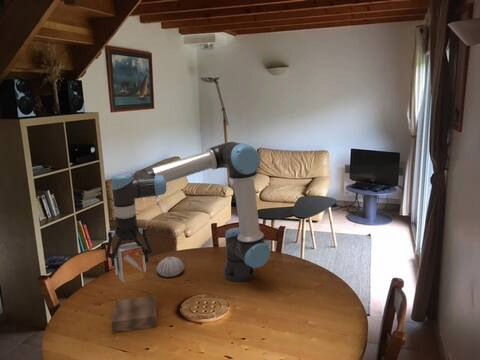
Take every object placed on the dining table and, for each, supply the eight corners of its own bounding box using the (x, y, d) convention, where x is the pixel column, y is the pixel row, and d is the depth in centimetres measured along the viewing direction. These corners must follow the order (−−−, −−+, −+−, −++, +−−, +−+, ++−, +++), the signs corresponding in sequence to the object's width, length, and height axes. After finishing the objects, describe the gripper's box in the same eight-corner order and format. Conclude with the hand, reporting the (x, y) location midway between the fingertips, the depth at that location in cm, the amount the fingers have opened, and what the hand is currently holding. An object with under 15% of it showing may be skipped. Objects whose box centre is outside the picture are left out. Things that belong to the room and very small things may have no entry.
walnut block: (156, 306, 168) (155, 295, 167) (156, 327, 152) (155, 315, 151) (116, 312, 165) (115, 301, 164) (112, 334, 149) (111, 322, 148)
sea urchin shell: (162, 281, 190) (160, 265, 188) (153, 271, 202) (152, 256, 200) (188, 274, 196) (187, 259, 194) (178, 265, 208) (177, 250, 206)
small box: (124, 284, 150) (120, 251, 147) (118, 278, 155) (115, 246, 153) (145, 278, 154) (142, 246, 152) (139, 272, 160) (136, 241, 157)
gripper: (156, 210, 155) (160, 264, 160) (95, 215, 151) (102, 271, 156) (156, 215, 148) (160, 272, 153) (92, 221, 144) (99, 279, 149)
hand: (131, 271), depth 154 cm, fingers closed on small box, 10 cm apart
